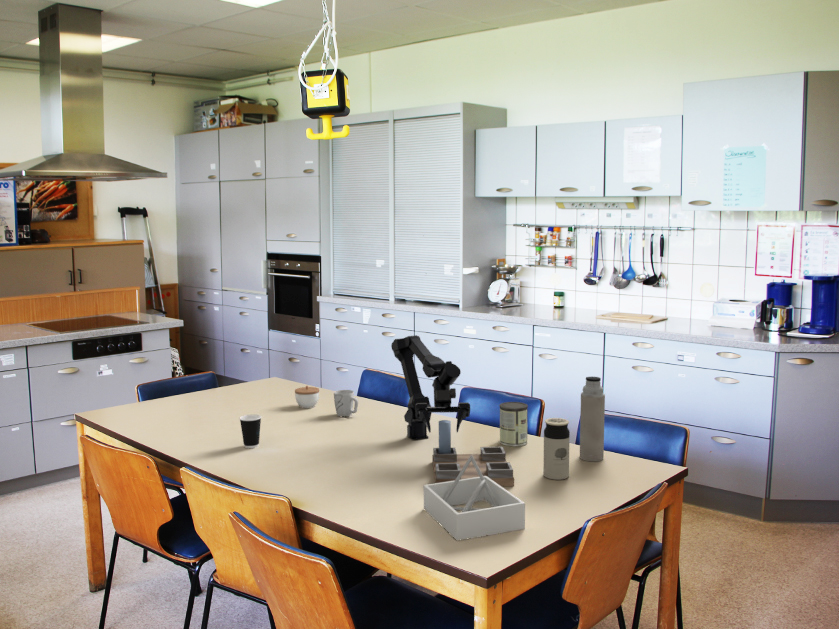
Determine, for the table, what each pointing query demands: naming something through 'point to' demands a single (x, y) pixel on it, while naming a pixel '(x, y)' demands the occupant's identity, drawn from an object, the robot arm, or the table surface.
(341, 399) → the mug
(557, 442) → the travel mug
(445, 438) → the stool leg
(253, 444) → the dixie cup
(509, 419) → the coffee can
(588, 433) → the thermos bottle
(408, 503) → the table surface
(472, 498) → the wire frame
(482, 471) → the four-cup wooden tray
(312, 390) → the lidded jar
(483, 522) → the open square box
